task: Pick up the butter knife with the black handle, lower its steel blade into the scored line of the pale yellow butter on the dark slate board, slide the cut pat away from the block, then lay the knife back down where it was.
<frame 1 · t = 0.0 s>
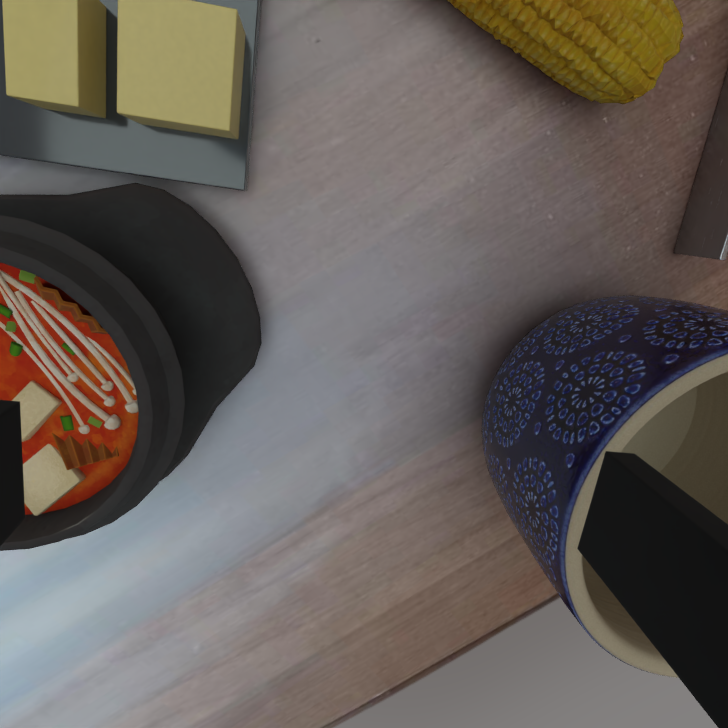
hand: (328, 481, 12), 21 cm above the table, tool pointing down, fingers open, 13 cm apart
butter pat: (74, 58, 26), point 1 cm above the table, touching board
casserole: (61, 356, 32), on the table
board: (118, 71, 28), on the table
butter block: (191, 79, 27), point 1 cm above the table, touching board
planter: (575, 399, 36), on the table
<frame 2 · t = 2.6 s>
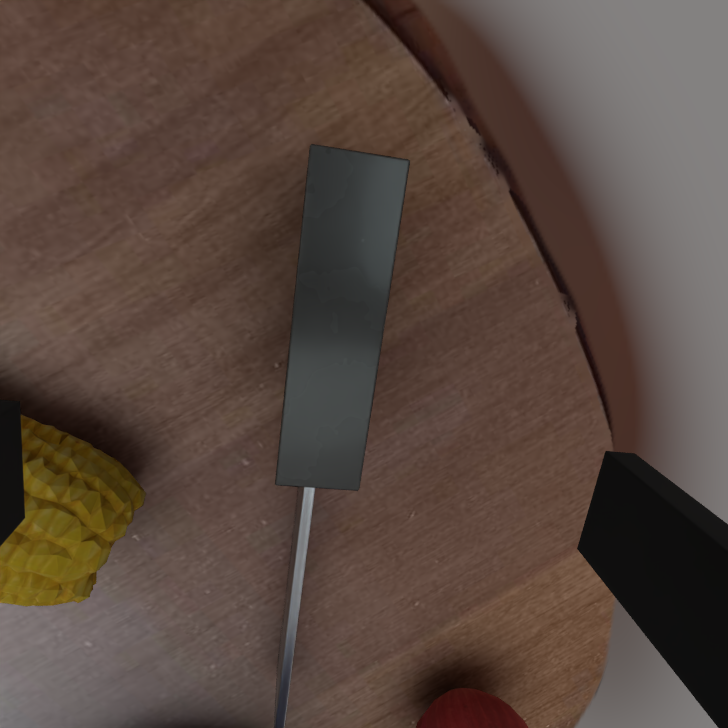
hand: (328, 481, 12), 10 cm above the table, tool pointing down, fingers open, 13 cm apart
onion: (452, 690, 28), on the table
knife: (326, 290, 20), on the table
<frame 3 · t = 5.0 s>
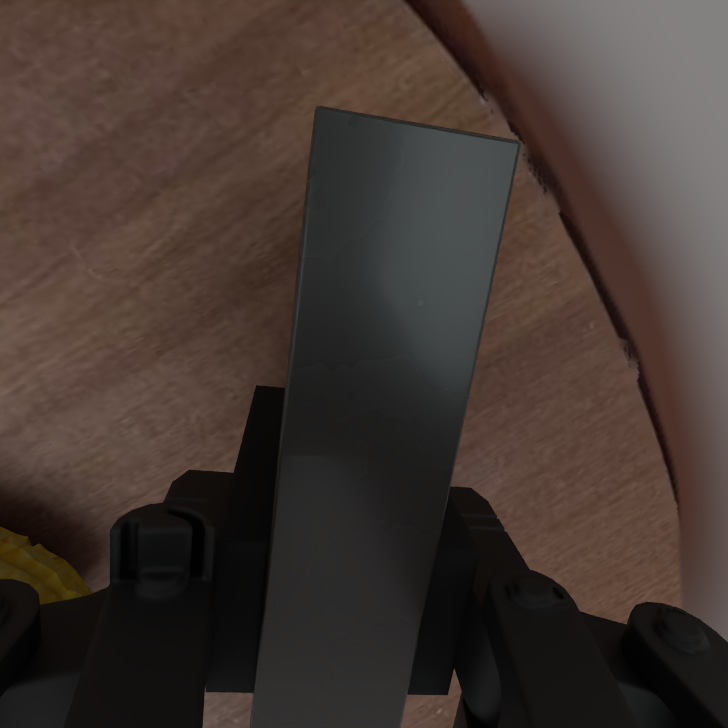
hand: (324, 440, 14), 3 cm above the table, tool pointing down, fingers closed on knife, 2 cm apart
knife: (335, 347, 14), point 2 cm above the table, touching gripper
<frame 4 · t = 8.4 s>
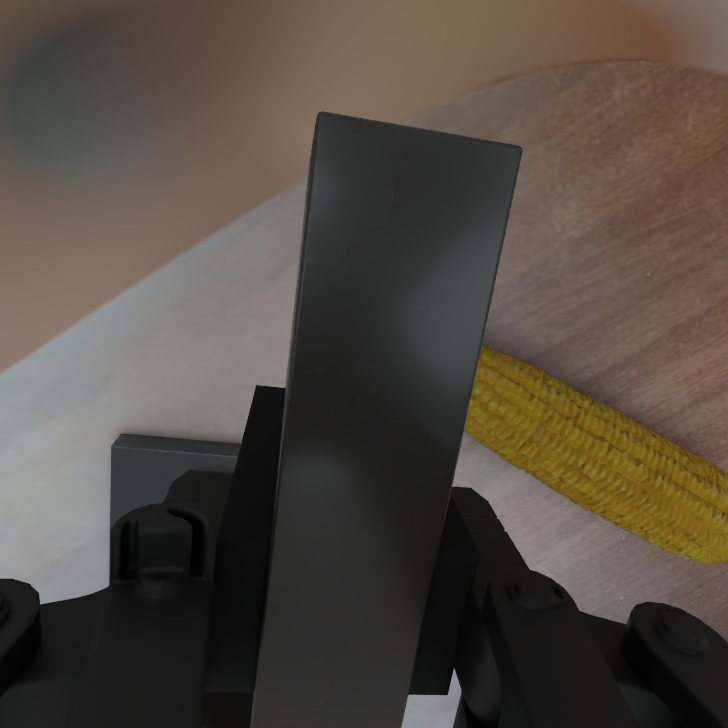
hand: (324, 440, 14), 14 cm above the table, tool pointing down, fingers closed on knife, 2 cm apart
board: (245, 523, 31), on the table
food: (564, 431, 31), on the table
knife: (336, 349, 14), point 14 cm above the table, touching gripper
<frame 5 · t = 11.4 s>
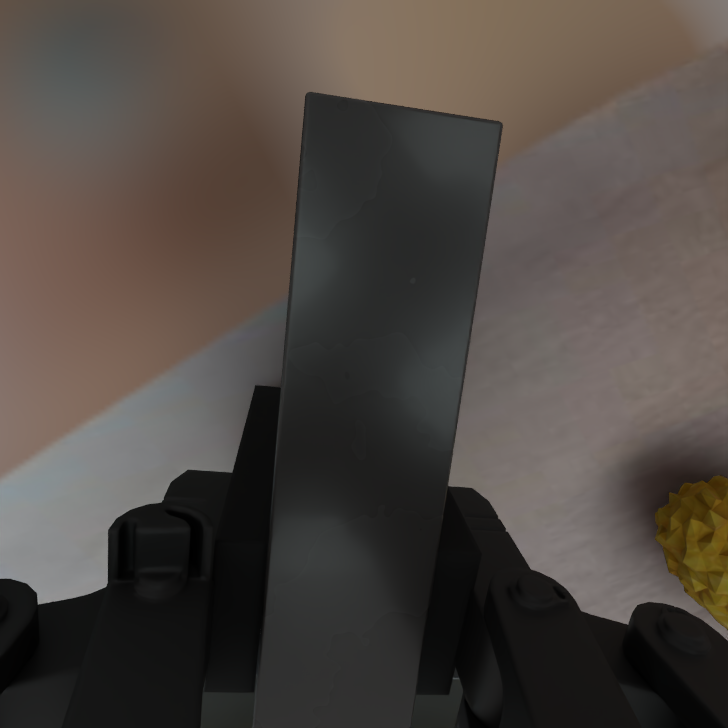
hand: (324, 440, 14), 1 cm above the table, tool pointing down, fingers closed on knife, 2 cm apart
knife: (333, 360, 14), point 1 cm above the table, tilted 5°, touching board, butter pat, gripper
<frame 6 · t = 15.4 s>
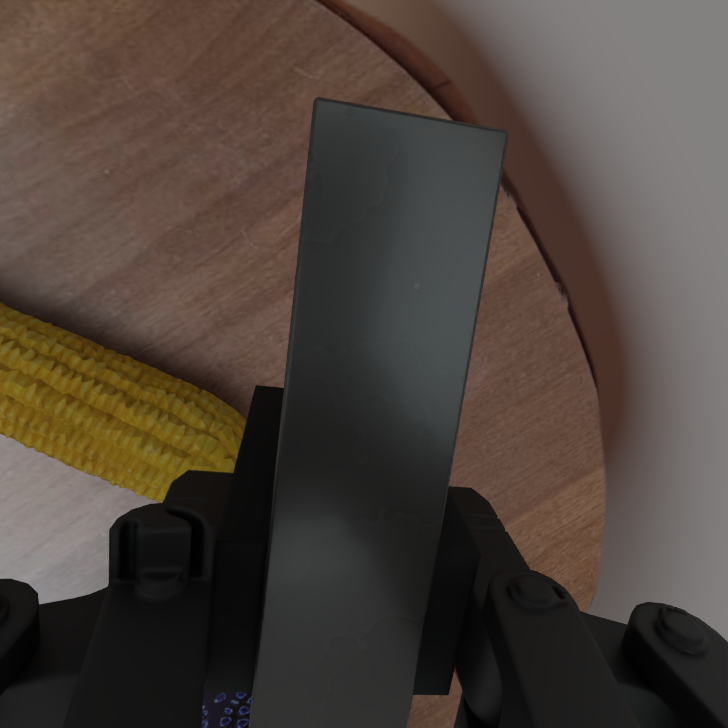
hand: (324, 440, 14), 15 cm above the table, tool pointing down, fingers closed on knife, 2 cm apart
planter: (266, 706, 35), on the table
food: (63, 364, 27), on the table
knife: (333, 363, 14), point 14 cm above the table, tilted 5°, touching gripper
when the fingers open (0 cm above the table, at t = 18.7 s): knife stays where it is, on the table.
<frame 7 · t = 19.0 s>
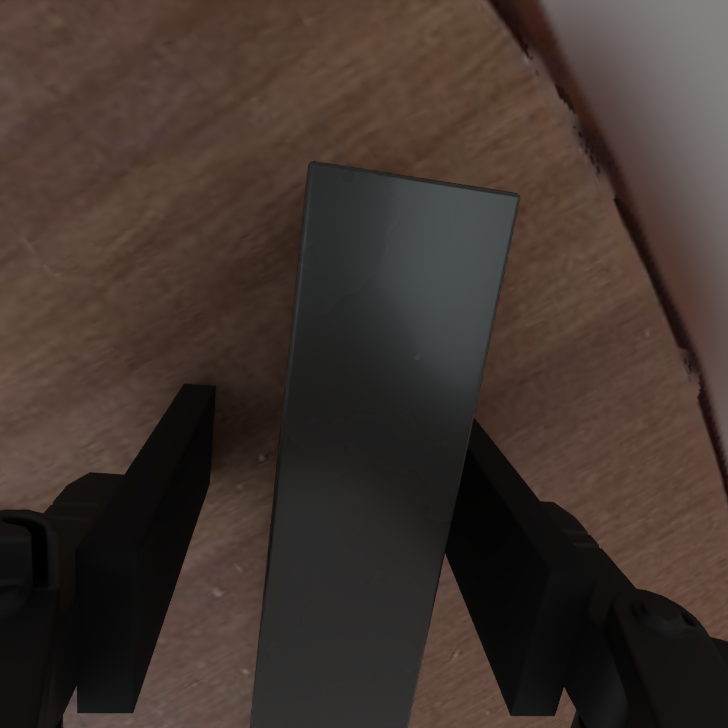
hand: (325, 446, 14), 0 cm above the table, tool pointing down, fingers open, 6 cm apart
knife: (333, 372, 14), on the table
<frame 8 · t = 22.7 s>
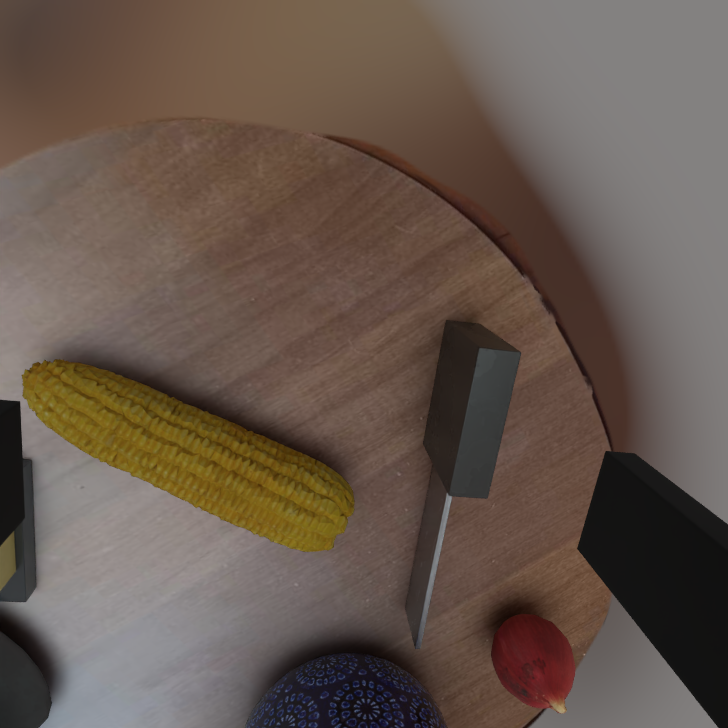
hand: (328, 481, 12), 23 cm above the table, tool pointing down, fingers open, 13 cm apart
onion: (512, 619, 43), on the table
planter: (340, 703, 44), on the table
food: (207, 437, 36), on the table
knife: (450, 385, 36), on the table
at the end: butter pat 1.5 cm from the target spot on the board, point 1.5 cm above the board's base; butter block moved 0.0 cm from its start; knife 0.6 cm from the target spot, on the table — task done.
